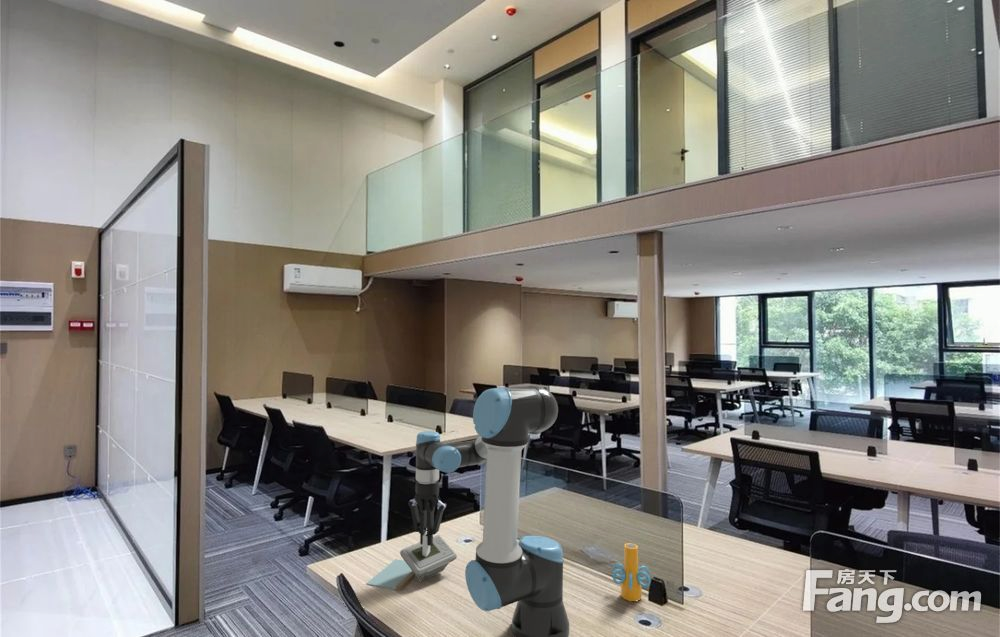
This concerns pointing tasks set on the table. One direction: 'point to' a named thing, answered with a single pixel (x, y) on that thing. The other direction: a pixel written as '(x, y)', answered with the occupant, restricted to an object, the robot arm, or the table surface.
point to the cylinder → (631, 574)
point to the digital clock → (428, 558)
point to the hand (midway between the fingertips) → (426, 554)
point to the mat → (393, 576)
